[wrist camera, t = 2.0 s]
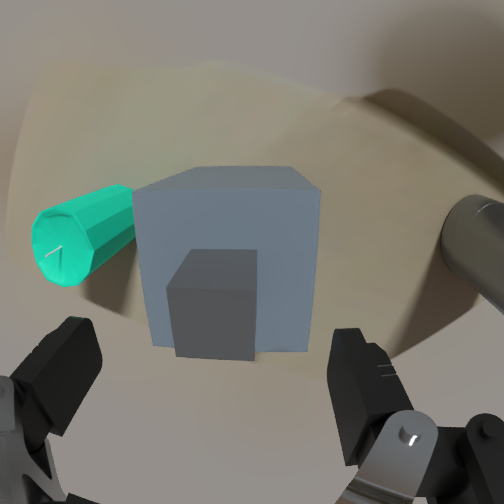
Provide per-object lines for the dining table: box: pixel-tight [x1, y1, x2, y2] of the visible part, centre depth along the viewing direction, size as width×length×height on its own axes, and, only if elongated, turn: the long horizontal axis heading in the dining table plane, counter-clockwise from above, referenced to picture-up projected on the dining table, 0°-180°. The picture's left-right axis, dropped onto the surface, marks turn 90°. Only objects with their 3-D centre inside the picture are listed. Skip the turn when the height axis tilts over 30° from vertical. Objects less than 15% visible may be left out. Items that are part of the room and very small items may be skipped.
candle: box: [32, 184, 136, 287], centre depth 23 cm, size 6×6×12 cm
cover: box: [132, 166, 321, 361], centre depth 19 cm, size 8×8×18 cm
